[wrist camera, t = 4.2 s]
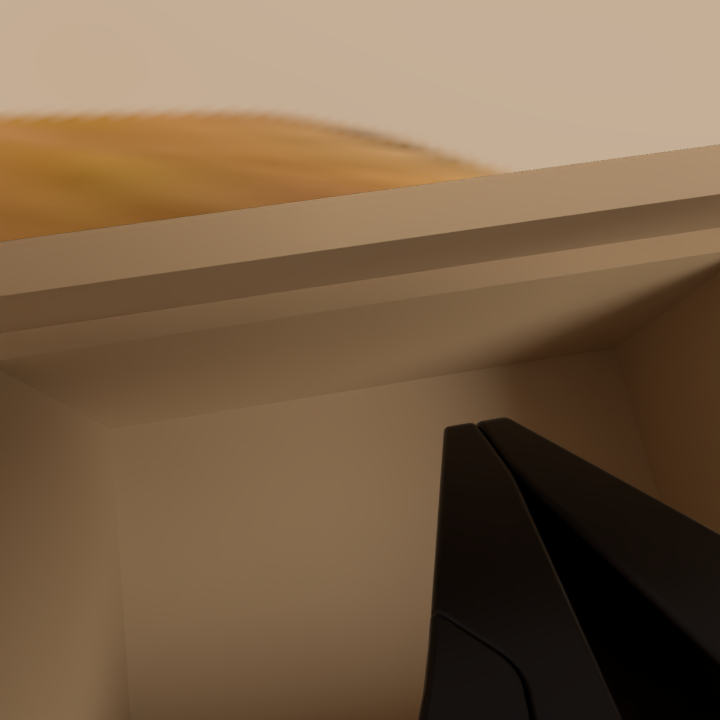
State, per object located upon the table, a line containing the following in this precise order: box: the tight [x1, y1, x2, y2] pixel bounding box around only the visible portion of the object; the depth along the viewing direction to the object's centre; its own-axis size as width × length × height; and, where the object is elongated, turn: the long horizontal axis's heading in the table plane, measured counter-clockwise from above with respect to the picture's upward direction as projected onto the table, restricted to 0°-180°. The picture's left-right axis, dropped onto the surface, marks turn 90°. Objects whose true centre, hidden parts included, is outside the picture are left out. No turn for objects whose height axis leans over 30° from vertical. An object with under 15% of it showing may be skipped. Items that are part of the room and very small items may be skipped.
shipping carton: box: [0, 228, 720, 720], centre depth 15 cm, size 15×19×8 cm
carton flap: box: [0, 145, 720, 333], centre depth 10 cm, size 1×18×7 cm, turn 101°
